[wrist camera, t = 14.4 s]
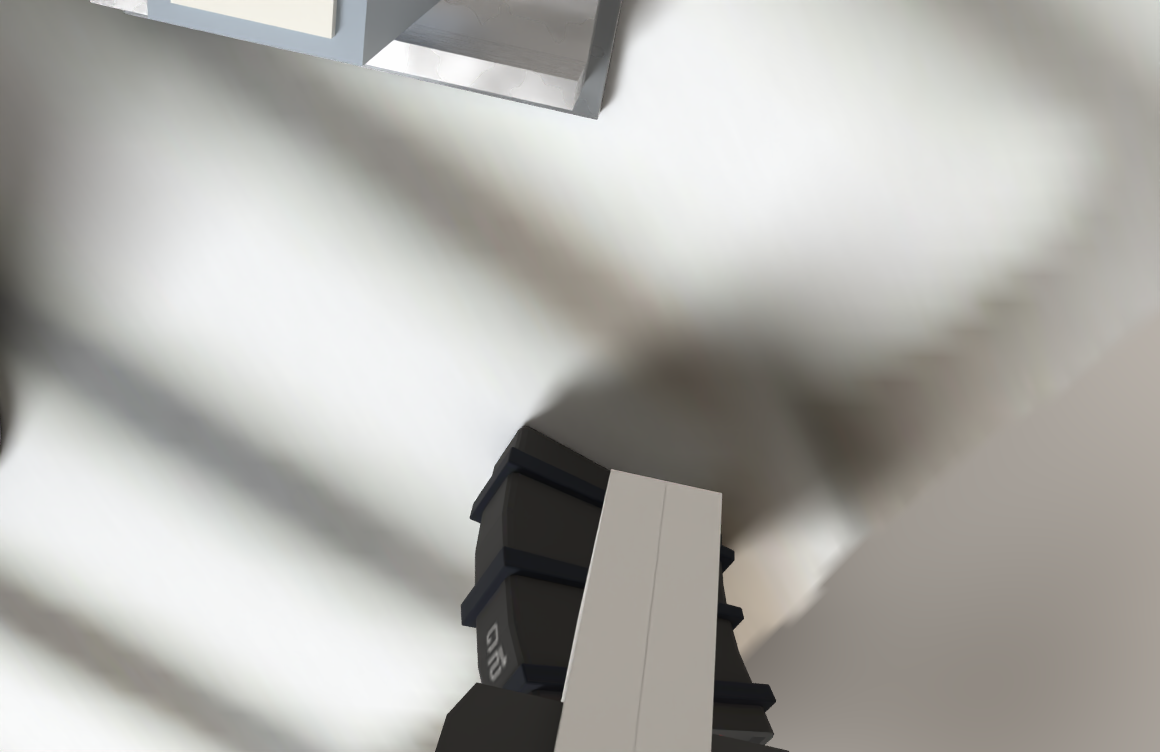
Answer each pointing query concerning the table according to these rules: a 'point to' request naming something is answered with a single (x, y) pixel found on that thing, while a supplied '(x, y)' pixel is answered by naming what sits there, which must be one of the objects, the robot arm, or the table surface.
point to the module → (300, 23)
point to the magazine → (568, 582)
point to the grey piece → (501, 49)
